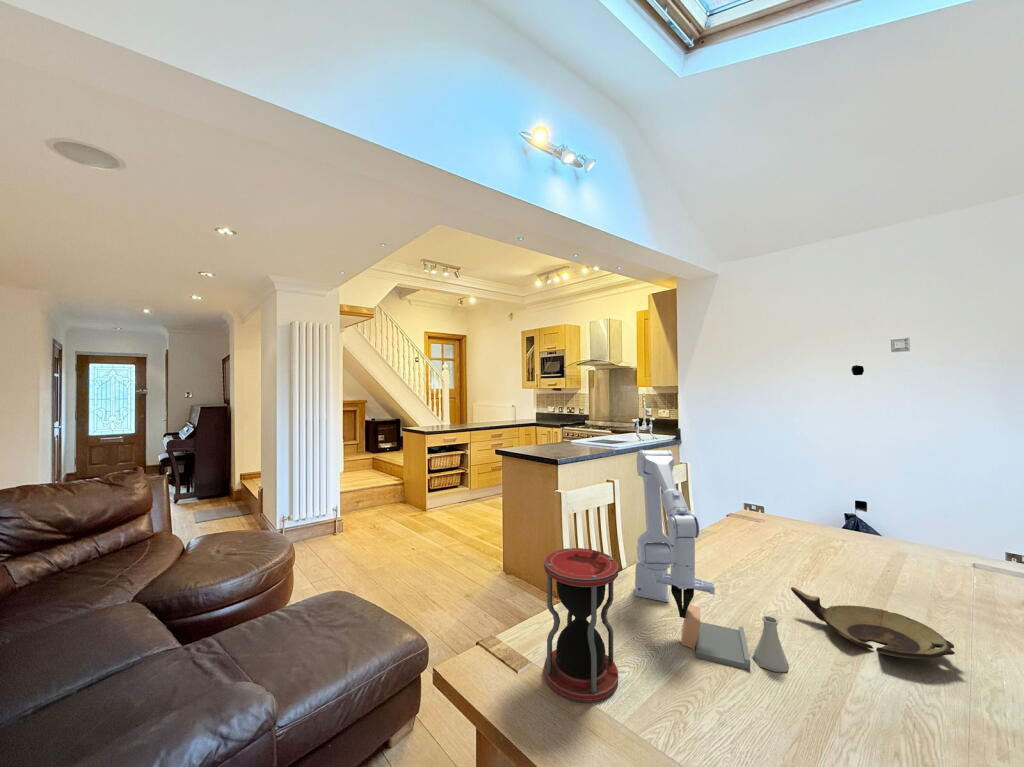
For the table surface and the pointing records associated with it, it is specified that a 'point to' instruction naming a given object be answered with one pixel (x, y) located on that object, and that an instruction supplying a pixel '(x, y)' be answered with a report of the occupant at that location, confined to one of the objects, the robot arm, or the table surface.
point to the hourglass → (581, 625)
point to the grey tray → (723, 645)
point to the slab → (691, 626)
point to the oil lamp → (880, 629)
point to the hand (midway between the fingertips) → (682, 615)
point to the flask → (770, 648)
